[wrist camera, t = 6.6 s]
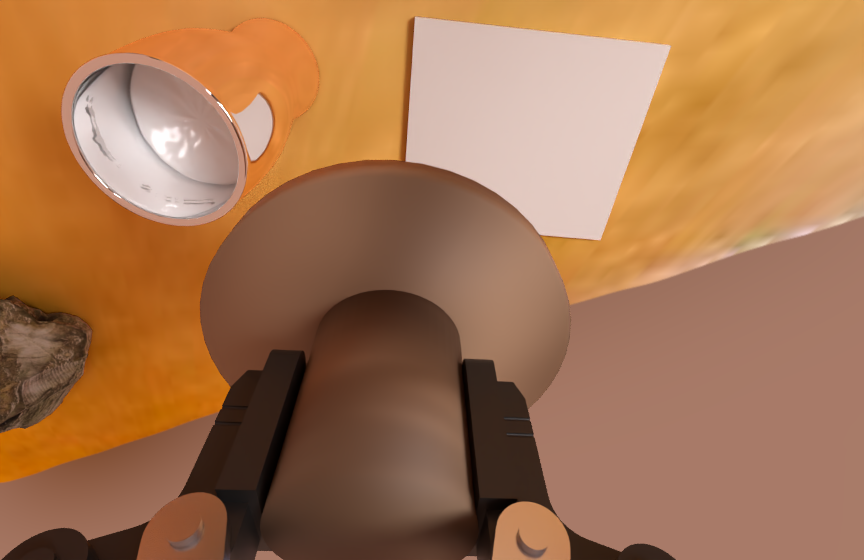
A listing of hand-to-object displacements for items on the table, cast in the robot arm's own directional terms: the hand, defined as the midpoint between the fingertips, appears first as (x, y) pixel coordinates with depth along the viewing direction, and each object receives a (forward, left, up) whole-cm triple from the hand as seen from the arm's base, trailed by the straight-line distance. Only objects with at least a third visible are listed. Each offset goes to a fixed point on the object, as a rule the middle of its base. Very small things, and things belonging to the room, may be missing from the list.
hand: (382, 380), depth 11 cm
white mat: (-8, +1, -24) cm, 25 cm away
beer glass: (+9, -2, -24) cm, 26 cm away
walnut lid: (0, 0, -2) cm, 2 cm away
